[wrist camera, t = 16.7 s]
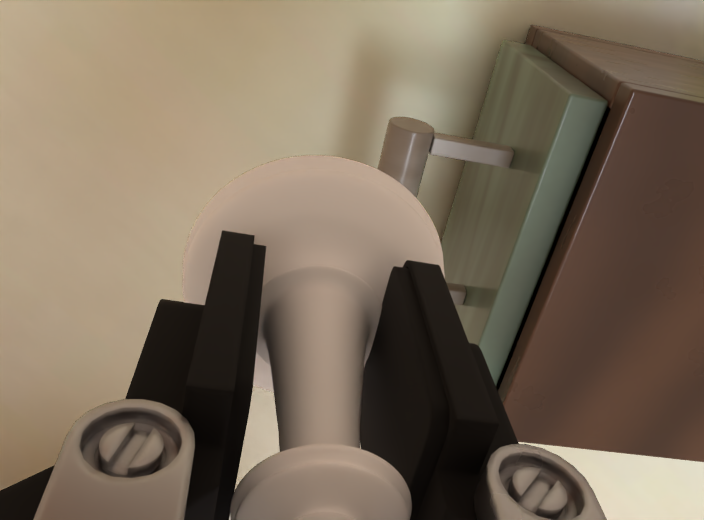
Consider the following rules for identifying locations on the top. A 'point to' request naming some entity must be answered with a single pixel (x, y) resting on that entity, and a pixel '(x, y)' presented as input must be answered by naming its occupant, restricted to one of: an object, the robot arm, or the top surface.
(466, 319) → the drawer
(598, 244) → the cabinet
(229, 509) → the robot arm
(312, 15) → the top surface
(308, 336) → the chess piece
